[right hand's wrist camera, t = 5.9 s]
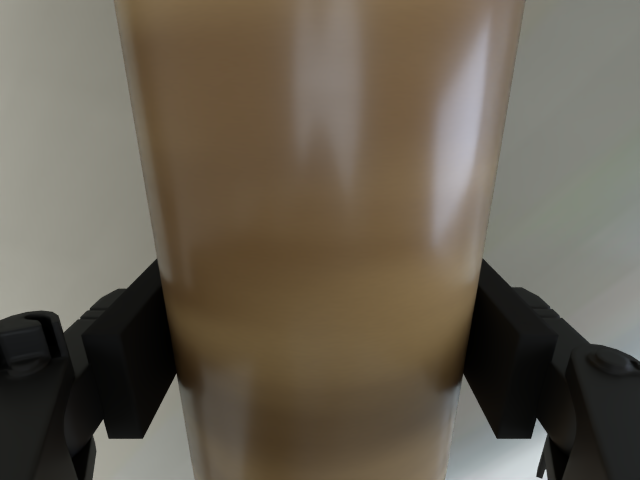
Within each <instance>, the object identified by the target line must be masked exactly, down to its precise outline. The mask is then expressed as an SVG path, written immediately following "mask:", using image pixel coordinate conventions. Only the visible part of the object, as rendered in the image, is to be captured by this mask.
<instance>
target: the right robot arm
mask: <svg viewBox="0 0 640 480" xmlns="http://www.w3.org/2000/svg"><path fill="white" fill-rule="evenodd" d="M176 373H177V372H176V367H175V361H174V355H173V349H172V343H171V337H170V331H169V325H168V319H167V313H166V307H165V301H164V295H163V289H162V283H161V277H160V272H159V266H158V260H157V259H156V260H155V261H154V262H153V263H152V264H151V265H150V266H149V267H148V268H147V269H146V270H145V271H144V272H143V273H142V274H141V275H140V276H139V277H138V278H137V279H136V280H135V281H134V282H133V283H132V284H131V285H130V286H129V287H128V288H127V289H117V290H115V291H113V292H111V293H109V294H107V295H106V296H104V297H102V298H101V299H99V300H98V301H97V302H96V303H95V304H94V305H93V306H92V307H91V308H90V310H88V311H87V312H85V313H84V314H83V315H82V316H81V317H80V319H78V320H77V321H76V322H75V323H74V324H73V325H71V326H70V327H69V328H68V329H67V330H66V331H65V332H64V333H63V330H62V326H61V323H60V319H59V316H58V315H57V314H55V313H53V312H49V311H32V312H25V313H21V314H17V315H13V316H10V317H7V318H5V319H2V320H0V480H92V478H93V471H94V464H95V457H96V446H95V441H94V438H93V434H94V432H95V431H96V429H97V428H98V426H99V425H100V423H101V422H102V420H103V419H104V423H105V427H106V431H107V434H108V438H109V439H143V437H144V435H145V433H146V431H147V430H148V428H149V426H150V424H151V422H152V420H153V418H154V416H155V414H156V412H157V410H158V408H159V406H160V404H161V402H162V400H163V398H164V396H165V395H166V393H167V391H168V389H169V387H170V385H171V383H172V381H173V379H174V377H175V375H176ZM463 374H464V376H465V378H466V379H467V381H468V383H469V385H470V387H471V389H472V391H473V393H474V395H475V397H476V399H477V401H478V403H479V405H480V407H481V409H482V411H483V413H484V414H485V416H486V418H487V420H488V422H489V424H490V426H491V428H492V430H493V432H494V434H495V436H496V438H497V439H531V437H532V433H533V429H534V426H535V422H536V418H537V419H538V420H539V422H540V423H541V425H542V426H543V428H544V429H545V430H546V432H547V433H548V434H547V438H546V441H545V445H544V448H543V452H542V455H541V459H540V462H539V466H538V469H537V476H536V477H539V478H542V477H543V474H544V471H545V470H547V477H548V480H640V361H638V360H637V359H635V358H634V357H632V356H630V355H628V354H626V353H624V352H621V351H619V350H617V349H613V348H610V347H606V346H603V345H596V344H590V343H589V342H588V341H587V340H585V339H584V338H583V337H582V336H581V335H580V334H579V333H578V332H577V331H576V330H575V329H574V328H572V327H571V326H570V325H569V324H568V323H567V322H566V321H565V320H564V319H563V318H560V316H559V315H558V314H557V313H556V312H555V311H554V310H553V309H550V306H549V305H547V304H546V303H545V302H544V301H543V300H542V299H541V298H540V297H539V296H537V295H535V294H533V293H531V292H529V291H528V290H526V289H524V288H522V287H511V286H510V285H509V284H508V283H507V282H506V281H505V280H504V279H503V278H502V277H501V276H500V275H499V274H498V273H497V272H496V271H495V270H494V269H493V268H492V267H491V266H490V265H489V264H488V263H487V262H486V261H485V260H484V259H483V258H482V263H481V269H480V275H479V281H478V287H477V293H476V299H475V305H474V311H473V317H472V323H471V329H470V335H469V341H468V347H467V353H466V359H465V365H464V371H463Z"/></svg>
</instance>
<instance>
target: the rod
mask: <svg viewBox="0 0 640 480" xmlns="http://www.w3.org/2000/svg"><path fill="white" fill-rule="evenodd" d="M114 4H115V10H116V16H117V22H118V28H119V34H120V40H121V46H122V52H123V58H124V64H125V70H126V76H127V82H128V87H129V93H130V99H131V105H132V111H133V117H134V123H135V129H136V135H137V141H138V147H139V153H140V159H141V165H142V171H143V177H144V182H145V188H146V194H147V200H148V206H149V212H150V218H151V224H152V230H153V236H154V242H155V248H156V254H157V260H158V266H159V272H160V277H161V283H162V289H163V295H164V301H165V307H166V313H167V319H168V325H169V331H170V337H171V343H172V349H173V355H174V361H175V367H176V372H177V378H178V384H179V390H180V396H181V402H182V408H183V414H184V420H185V426H186V432H187V438H188V444H189V450H190V456H191V462H192V467H193V472H194V477H195V480H445V476H446V471H447V466H448V461H449V455H450V449H451V443H452V437H453V431H454V425H455V419H456V413H457V407H458V401H459V395H460V389H461V383H462V377H463V371H464V365H465V359H466V353H467V347H468V341H469V335H470V329H471V323H472V317H473V311H474V305H475V299H476V293H477V287H478V281H479V275H480V269H481V263H482V257H483V251H484V245H485V239H486V233H487V227H488V221H489V215H490V209H491V203H492V197H493V192H494V186H495V180H496V174H497V168H498V162H499V156H500V150H501V144H502V138H503V132H504V126H505V120H506V114H507V108H508V102H509V96H510V90H511V84H512V78H513V72H514V66H515V60H516V54H517V48H518V42H519V36H520V30H521V24H522V18H523V12H524V6H525V0H114Z"/></svg>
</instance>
